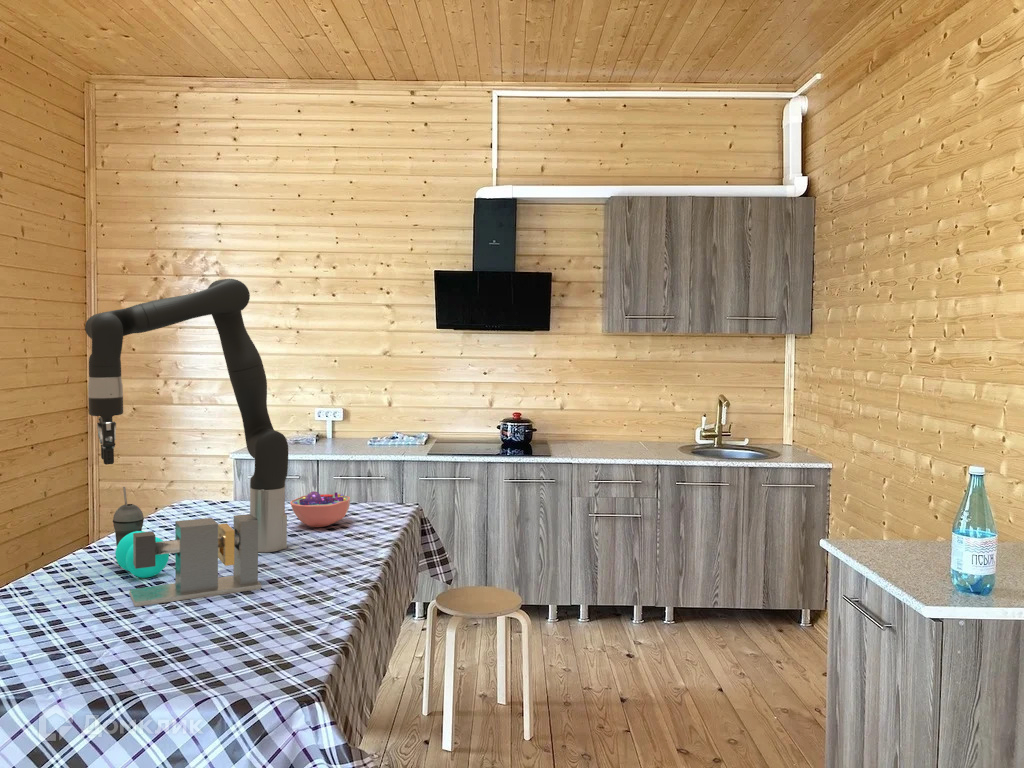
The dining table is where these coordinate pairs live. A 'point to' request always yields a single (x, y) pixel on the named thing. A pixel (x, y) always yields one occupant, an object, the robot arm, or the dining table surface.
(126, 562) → the donuts
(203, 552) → the pillow blocks
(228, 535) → the spacer
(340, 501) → the cell model
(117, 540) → the beverage cup
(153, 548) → the shaft
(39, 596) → the dining table surface
